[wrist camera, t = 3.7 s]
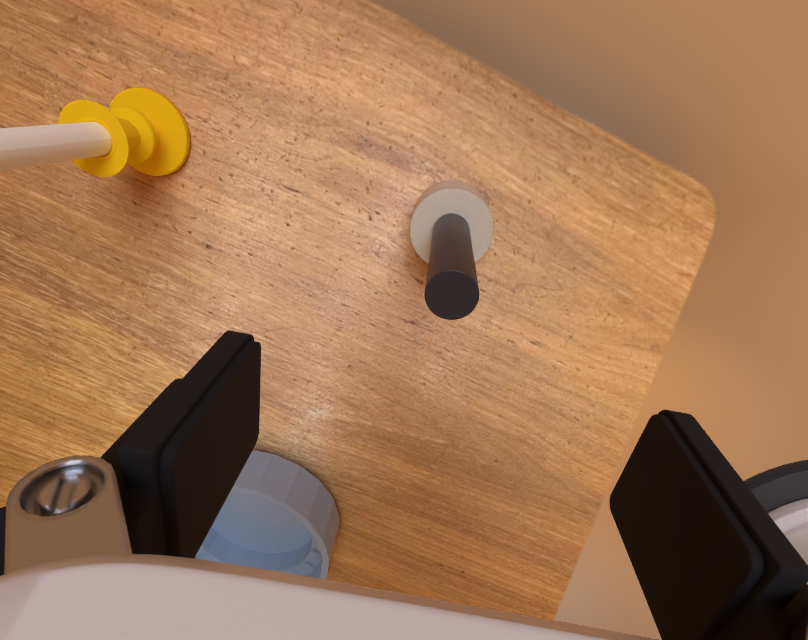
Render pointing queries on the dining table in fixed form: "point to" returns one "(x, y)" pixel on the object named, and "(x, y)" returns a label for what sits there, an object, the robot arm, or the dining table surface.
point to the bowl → (275, 520)
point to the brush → (451, 245)
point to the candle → (105, 137)
